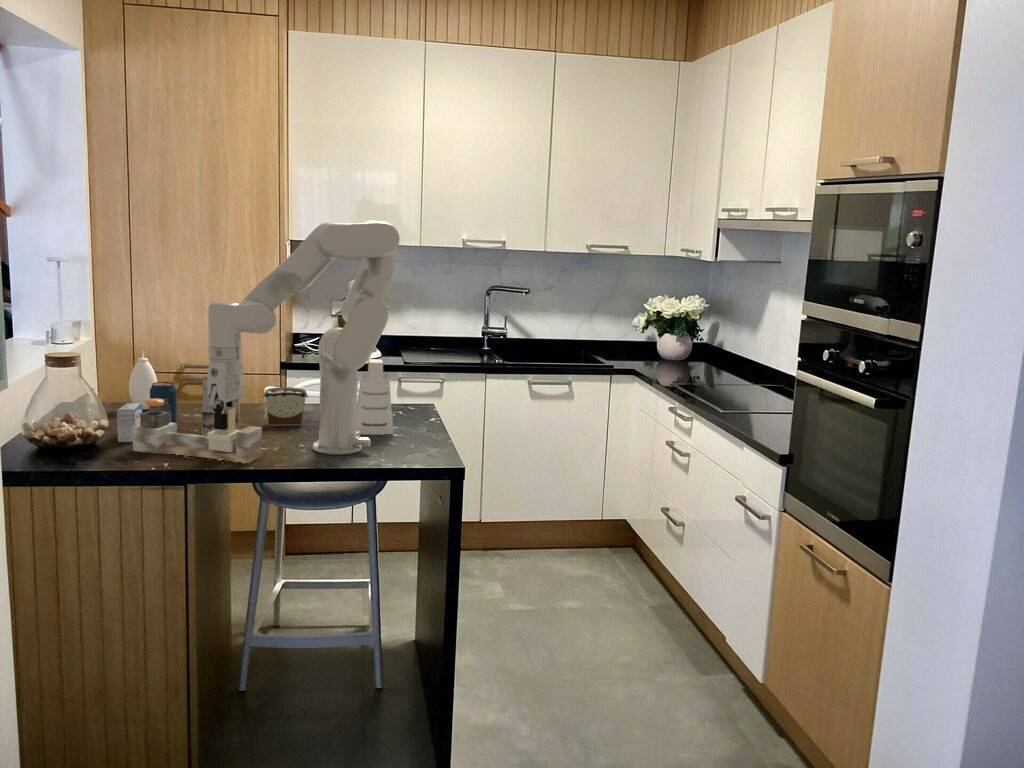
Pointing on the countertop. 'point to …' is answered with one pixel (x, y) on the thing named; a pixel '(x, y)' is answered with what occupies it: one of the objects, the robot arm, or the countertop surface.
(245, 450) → the slide rail
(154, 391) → the soda can
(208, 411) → the coffee box
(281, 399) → the food container
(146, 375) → the sauce bottle
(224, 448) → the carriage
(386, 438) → the countertop surface
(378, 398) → the grater
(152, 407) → the button
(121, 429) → the medicine box
